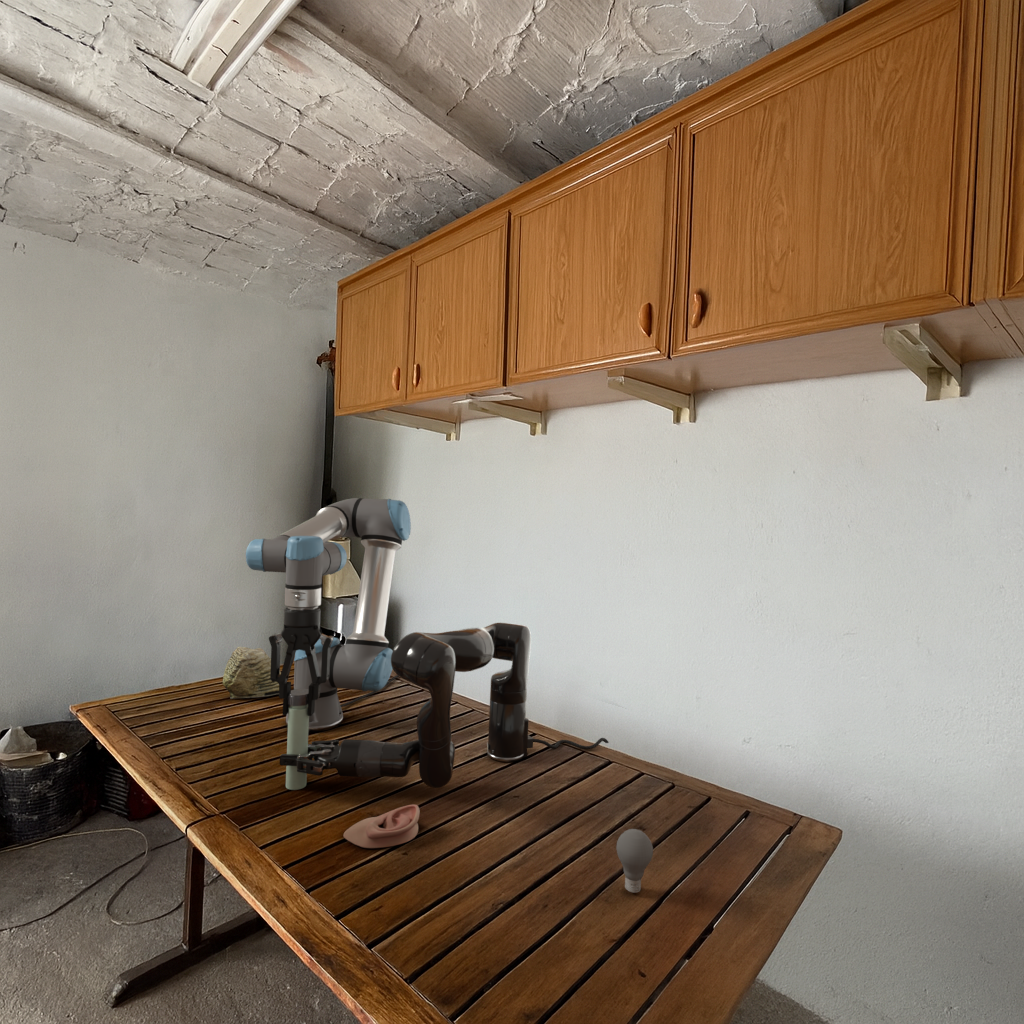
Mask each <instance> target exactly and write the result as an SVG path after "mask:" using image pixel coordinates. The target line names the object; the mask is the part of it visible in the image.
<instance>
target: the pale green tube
mask: <svg viewBox="0 0 1024 1024" xmlns="http://www.w3.org/2000/svg"><path fill="white" fill-rule="evenodd" d="M308 730H309V716H308V704H307V705H304V706H291V705H290V706H289V709H288V727H287V735H286V737H287V738H286V754H295V755H304V754H308V744H309V732H308ZM285 770H286V771H285V788H286V789H287V790H289V791H290V790H291V791H297V790H301V789H304V788H305V787H306V786H307V778H308V774H307V773H302V772H297V766H286V767H285Z"/></svg>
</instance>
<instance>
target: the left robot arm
mask: <svg viewBox="0 0 1024 1024" xmlns="http://www.w3.org/2000/svg"><path fill="white" fill-rule="evenodd" d="M411 526H412V523H411V515H410V510H409V508H408V505H407V504H406V502H404V501H402V500H400V499H399V500H398V499H391V498H365V497H363V498H361V497H353V498H347V499H342V500H340V501H337V502H334V503H331V504H329V505H326V506H324V507H323V508H320V510H318V511H317V512H316V515H315V516H313V517H311V518H309V519H307V520H305V521H304V522H302V523H300V524H298V525H296V526H294V527H292V528H290V529H288V530H286V531H285V532H282V533H281V534H278V535H277V536H274V537H273V538H270V539H267V538H255V539H253V540H251V541H250V542H249V543H248V545H247V547H246V550H245V560H246V565H247V566H248V568H249V569H250V570H253V571H260V572H263V573H266V572H268V573H285V585H284V586H285V587H284V606H285V607H286V608H285V609H284V612H283V628H282V630H281V632H279V633H273V634H272V635H270V636H269V637H268V641H269V644H270V648H271V649H270V658H271V673H270V680H271V681H275V682H278V683H279V694H278V698H279V699H281V700H282V716H285V726H286V728H288V709H289V706H290V705H289V704H288V703H287V702H288V692H289V691H291V690H292V681H289V676H290V672H291V669H292V666H293V662H294V672H293V690H295V689H308V690H309V693H308V716H309V730H308V733H316V732H325V731H329V730H332V729H335V728H337V727H339V726H340V725H342V723H343V722H344V714H343V709H342V708H343V707H346V706H350V705H351V704H354V703H356V702H359V701H360V700H362V699H365V698H367V697H370V696H372V695H374V694H376V693H378V692H379V691H381V690H382V689H384V688H386V686H388V685H389V684H391V682H393V681H394V680H395V679H397V678H400V676H398V675H397V674H396V675H395V676H393V677H392V678H391V679H390V677H391V675H392V672H393V668H392V665H391V655H392V652H393V648H390V647H389V644H390V641H389V639H387V637H386V636H385V633H386V632H385V631H386V625H387V617H388V611H389V610H388V609H389V602H390V595H391V588H392V587H391V586H392V579H393V572H394V563H395V558H396V557H395V556H396V552H397V551H399V550H400V549H401V548H402V544H403V541H404V542H405V541H407V540H408V539H409V538H410V536H411V531H412V530H411V529H412V527H411ZM340 538H359V539H360V544H361V546H363V547H364V555H363V560H362V561H363V562H362V569H361V575H360V581H359V582H360V583H359V588H358V597H357V602H356V604H357V605H356V609H355V616H354V624H353V630H352V633H351V634H350V635H348V636H347V637H346V638H345V639H346V640H345V644H341V641H340V639H339V638H338V637H334V636H333V635H326V634H324V633H323V631H322V629H321V612H322V611H321V608H320V606H321V605H322V582H323V581H322V580H323V577H324V576H328V575H331V576H332V575H333V574H335V573H337V572H340V571H341V570H343V568H344V567H345V566H346V563H347V562H348V561H347V560H348V556H347V555H348V554H347V551H346V549H345V548H344V546H343V545H341V544H340V543H339V542H336V541H335V540H338V539H340ZM283 641H284V642H285V643H286V645H287V648H286V653H285V656H284V657H285V658H284V662H283V663H282V664H283V665H282V668H281V648H282V647H281V644H282V642H283ZM280 672H281V675H280ZM338 689H342V690H343V689H345V690H352V691H353V690H356V691H362V692H368V691H369V692H368V693H366V694H363V695H361V696H359V697H356V698H355V699H352V700H350V701H347V702H345V703H342V704H341V702H340V699H339V695H338Z"/></svg>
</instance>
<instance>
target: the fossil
mask: <svg viewBox="0 0 1024 1024" xmlns="http://www.w3.org/2000/svg"><path fill="white" fill-rule="evenodd" d="M270 673H271V657H270V656H269V655H268V654H267V653H266V652H265V650H264V649H263V648H260V647H258V648H251V647H247V646H246V647H245V646H238V647H237V648H236V649H235V650H233V651H232V653H231V656H230V657H229V659H228V660H227V663H226V666H225V668H224V671H223V675H222V676H223V677H222V685H223V687H224V688H225V690H226V691H228V693H229V698H230V699H250V698H264V697H271V696H275V695H279V683H278V682H275V681H271V680H270ZM280 675H281V671H280Z"/></svg>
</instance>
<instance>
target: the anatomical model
mask: <svg viewBox="0 0 1024 1024" xmlns="http://www.w3.org/2000/svg"><path fill="white" fill-rule="evenodd" d="M420 814H421V813H420V807H419V805H417V804H408V805H404V806H400V807H397V808H395V809H392V810H390V811H388V812H385V813H383V814H380V815H378V816H372V817H367V818H364V819H361V820H360V821H358V822H356V823H354V824H353V825H351V826H350V827H348V828H347V829H346V830H345V831H344V833H343V835H342V836H343V838H344V839H345V840H346V841H348V842H349V843H352V844H353V845H355V846H358V847H360V848H364V849H380V848H388V847H395V846H399V845H402V844H405V843H407V842H410V841H412V840H414V839H415V838H416V836H417V835H418V832H419V823H418V821H419V819H420Z"/></svg>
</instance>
